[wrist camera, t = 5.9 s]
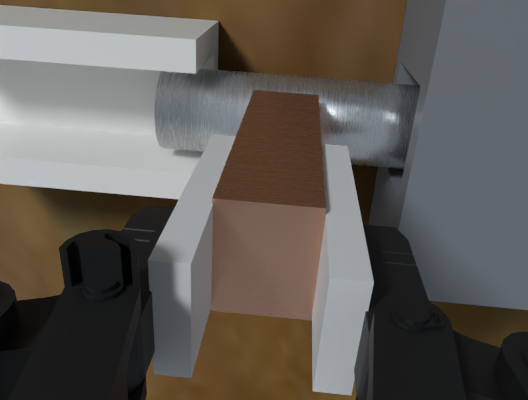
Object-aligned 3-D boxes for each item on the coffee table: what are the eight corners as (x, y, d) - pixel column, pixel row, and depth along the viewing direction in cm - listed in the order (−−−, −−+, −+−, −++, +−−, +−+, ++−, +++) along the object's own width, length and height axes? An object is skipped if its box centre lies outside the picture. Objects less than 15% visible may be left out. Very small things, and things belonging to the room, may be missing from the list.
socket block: (415, -43, 20) (454, -39, 15) (643, -28, 20) (770, -18, 14) (368, 222, 26) (384, 296, 20) (545, 237, 26) (610, 318, 20)
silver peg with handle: (174, 58, 22) (35, 174, 11) (551, 87, 21) (822, 243, 10) (176, 132, 23) (56, 301, 12) (527, 161, 22) (738, 369, 11)
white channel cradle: (-45, 1, 23) (-132, 15, 18) (218, 20, 22) (195, 39, 18) (-17, 136, 25) (-86, 176, 21) (216, 155, 25) (196, 200, 21)
